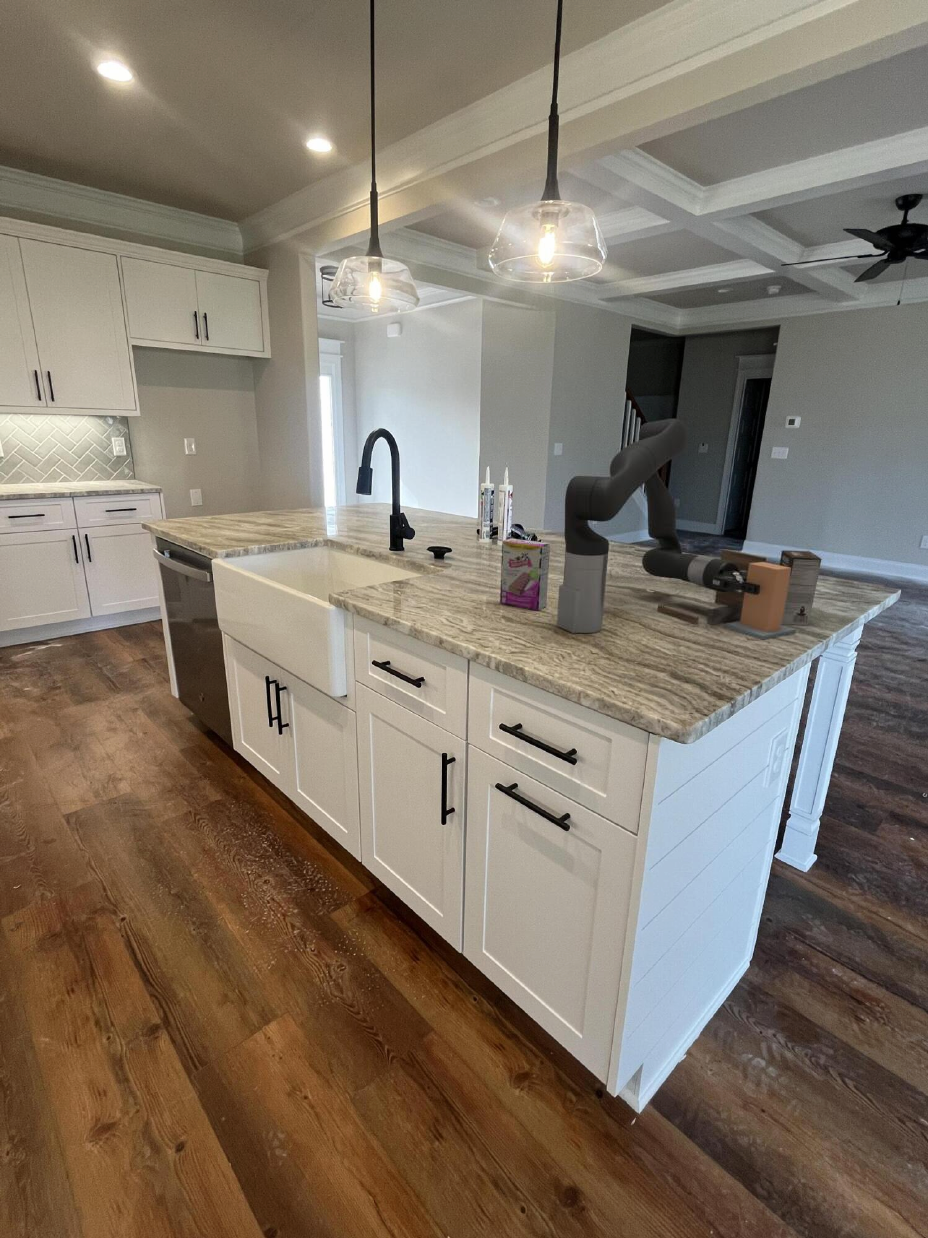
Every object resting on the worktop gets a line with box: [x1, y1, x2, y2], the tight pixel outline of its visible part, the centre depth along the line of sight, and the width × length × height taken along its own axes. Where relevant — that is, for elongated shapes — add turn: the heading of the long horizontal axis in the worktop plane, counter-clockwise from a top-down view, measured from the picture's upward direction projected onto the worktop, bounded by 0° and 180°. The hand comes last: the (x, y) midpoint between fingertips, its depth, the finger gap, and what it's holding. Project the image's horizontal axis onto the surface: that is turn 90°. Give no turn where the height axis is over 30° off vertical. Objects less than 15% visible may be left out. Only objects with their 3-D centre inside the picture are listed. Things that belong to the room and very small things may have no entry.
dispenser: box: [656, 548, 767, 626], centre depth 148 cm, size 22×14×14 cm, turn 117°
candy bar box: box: [499, 538, 551, 611], centre depth 151 cm, size 11×5×16 cm, turn 58°
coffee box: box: [779, 549, 823, 627], centre depth 143 cm, size 9×6×16 cm
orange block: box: [739, 561, 791, 632], centre depth 135 cm, size 4×7×14 cm, turn 27°
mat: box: [723, 620, 797, 640], centre depth 137 cm, size 11×10×1 cm
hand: (772, 588), depth 133 cm, fingers open, 8 cm apart
